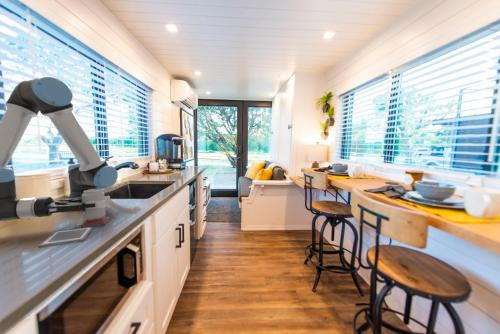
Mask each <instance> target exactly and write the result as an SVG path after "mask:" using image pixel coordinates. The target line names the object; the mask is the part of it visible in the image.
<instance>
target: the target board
mask: <svg viewBox="0 0 500 334" xmlns="http://www.w3.org/2000/svg"><path fill="white" fill-rule="evenodd" d="M94 229H95V227H88V228H80V227H79V228H73V229H66V230H59V231H54V232H53V233H51V234H50V235H49V236H48V237H47V238H45V239H44V240H43V241H41V243H39V245H38V248H43V247H49V246H50V247H51V246H58V245H63V244H72V243H78V242H84V241H86V238H88V236H90V234H91V233H92V231H93V230H94Z"/></svg>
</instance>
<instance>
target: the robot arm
mask: <svg viewBox="0 0 500 334" xmlns="http://www.w3.org/2000/svg"><path fill="white" fill-rule="evenodd" d="M73 98H74V96H73V92H72V89H71V88H70V86H69V85H68V84H67V83H66V82H65V81H63V80H61V79H59V78H58V77H55V76H50V75H49V76H48V75H46V76H44V75H43V76H38V77H34V78H33V77H32V78H28V79H25V80H24V79H23V80H21V81H20V82H18V83H17V85H16V86H15V87H14V88H13V90H12V92H11V94H10V95H9V97H8V99H7V101H6V102H5V107H6V110H5V111H4V114H3V116H2V117H1V119H0V222H3V221H13V220H22V219H26V220H29V221H30V220H31V219H33V218H37V217H38V218H44V217H46V218H47V217H51V216H52V215H53V214H57V213H69V212H70V213H71V212H82V213H83V212H84V211H86V209H92V208H103V207H105V208H107V203H111V195H107V196H106V195H104V198H105V200H103V201H91V202H86V204H85V203H82V194H83V193H84V191H85V190H90V189H102V190H103V189H109V188H112V187H113V186H114V185H115V184H116V183H117V180H118V178H119V176H118V175H119V174H118V171H117V169H116V168H115V167H114V166H111V165H109V164H108V163H107V160H106V159H105V158H103V157H100V155H99V154H98V152H97V150H96V149H95V147H94V146H93V144H92V142H91V140H90V139H89V136H88V135H87V134H86V132H85V129H84V128H83V127H82V125H81V123H80V122H79V120H78V119H77V117H76V115H75V113H74V111H73V110H74V108H75V105H74V104H73V102H72V101H73ZM39 113H40V114H41V115H42V116H45V117H47V118H49V120H50V121H51V123H52V124H53V125H54V127H55V129H56V130H57V131H58V133H59V135H60V136H61V138H62V139H63V141H64V142H65V144H66V145H67V147H68V148H69V150H70V151H71V153H72V155H73V156H74V158H75V159H76V161H77V162H78V163H72V164H69V165H68V167H67V173H68V174H67V175H68V181H69V192H70V193H69V197H68V198H61V199H58V200H57V201H55V200H54V199H53V197H51V196H41V197H25V198H18V197H17V188H16V175H15V172H14V169H13V168H12V167H9V166H8V164H9V162H10V161H11V160H12V159H11V158H13V155H14V153H15V150H16V149H17V147H18V145H19V144H20V142H21V140H22V137H23V136H24V134H25V132H26V130H27V128H28V126H29V124H30V123H31V120H32V119H33V118H34V117H37V116H38V115H39ZM85 208H86V209H85Z"/></svg>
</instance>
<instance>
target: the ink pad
mask: <svg viewBox="0 0 500 334" xmlns="http://www.w3.org/2000/svg"><path fill="white" fill-rule="evenodd" d="M109 220H110V215H107V216H106V215H105V216H104V217H103V218H101V219H97V220H86V219H84V221H83V222H82V224H80V225H79V226H80V227H79V229H80V228H88V227H94V228H96V227H104V226H106V224H107V223H108V221H109Z"/></svg>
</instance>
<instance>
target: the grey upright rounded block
mask: <svg viewBox="0 0 500 334" xmlns="http://www.w3.org/2000/svg"><path fill="white" fill-rule="evenodd" d="M104 196H105V192H104V191H103V189H98V188H97V189H90V190H85V191H84V193H83V194H82V203H85V204H86V202H91V201H103V200H105V198H104ZM85 209H86V208H85ZM82 213H83V219H84V220H97V219H101V218H103V217H104V216H106V207H103V208H92V209H86V211H84V212H83V211H82Z"/></svg>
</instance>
